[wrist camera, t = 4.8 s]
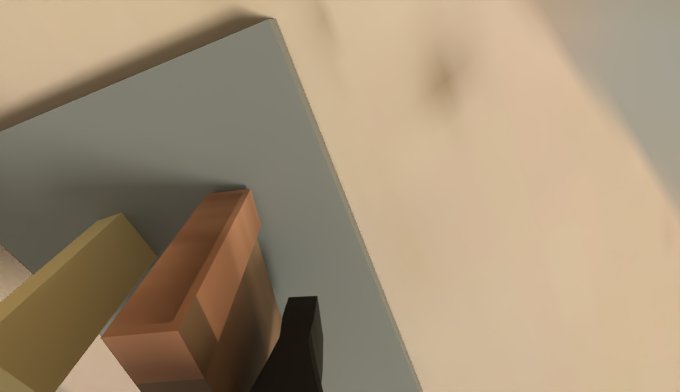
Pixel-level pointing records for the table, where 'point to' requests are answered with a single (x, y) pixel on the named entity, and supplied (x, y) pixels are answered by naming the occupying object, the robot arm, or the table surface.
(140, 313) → the brown wooden plank
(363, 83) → the table surface
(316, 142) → the thin gray base plate
